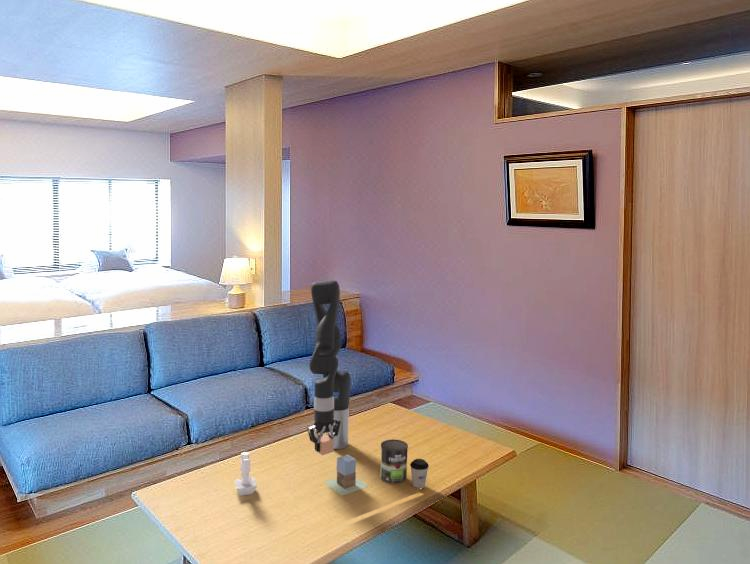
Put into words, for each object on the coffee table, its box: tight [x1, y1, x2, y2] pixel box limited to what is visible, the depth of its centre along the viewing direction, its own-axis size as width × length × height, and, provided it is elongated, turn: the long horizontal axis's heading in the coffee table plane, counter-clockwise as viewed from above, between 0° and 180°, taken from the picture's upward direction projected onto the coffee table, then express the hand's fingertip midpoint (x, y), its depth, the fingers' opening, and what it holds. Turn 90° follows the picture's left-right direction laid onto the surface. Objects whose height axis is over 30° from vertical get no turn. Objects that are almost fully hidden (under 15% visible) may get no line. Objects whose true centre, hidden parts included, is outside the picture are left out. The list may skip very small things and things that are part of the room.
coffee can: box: [379, 439, 409, 485], centre depth 220 cm, size 10×10×14 cm
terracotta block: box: [314, 434, 334, 456], centre depth 218 cm, size 5×5×5 cm
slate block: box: [336, 454, 357, 476], centre depth 213 cm, size 5×5×5 cm
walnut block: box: [336, 470, 357, 489], centre depth 214 cm, size 5×5×5 cm
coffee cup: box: [409, 458, 429, 490], centre depth 215 cm, size 7×7×10 cm
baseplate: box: [323, 477, 369, 496], centre depth 214 cm, size 12×12×1 cm
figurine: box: [233, 451, 258, 497], centre depth 208 cm, size 7×9×15 cm
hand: (324, 449), depth 218 cm, fingers closed on terracotta block, 5 cm apart
